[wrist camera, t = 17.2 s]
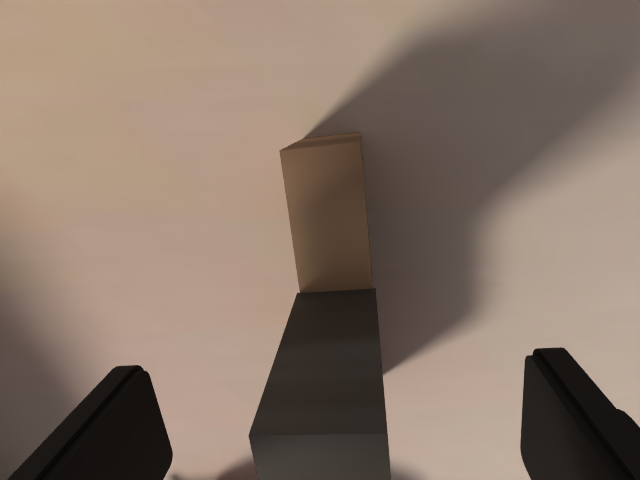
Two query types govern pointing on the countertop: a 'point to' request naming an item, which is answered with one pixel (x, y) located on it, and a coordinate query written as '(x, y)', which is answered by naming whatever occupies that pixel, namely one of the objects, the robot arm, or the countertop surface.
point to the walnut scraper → (326, 330)
